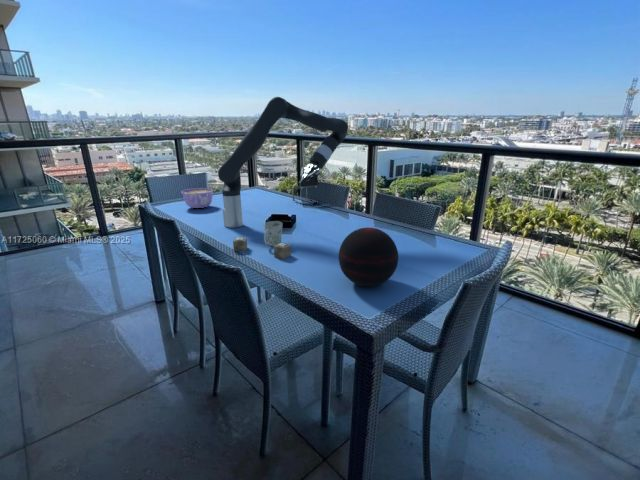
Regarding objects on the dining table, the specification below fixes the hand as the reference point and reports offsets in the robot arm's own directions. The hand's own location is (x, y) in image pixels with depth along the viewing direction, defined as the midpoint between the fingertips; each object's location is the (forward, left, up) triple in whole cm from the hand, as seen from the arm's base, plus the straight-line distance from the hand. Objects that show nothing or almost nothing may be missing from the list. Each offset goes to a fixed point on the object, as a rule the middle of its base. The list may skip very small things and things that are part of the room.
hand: (300, 185), depth 151 cm
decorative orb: (+38, -39, -26) cm, 61 cm away
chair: (-23, +74, -26) cm, 81 cm away
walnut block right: (0, -24, -26) cm, 36 cm away
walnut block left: (-21, -22, -26) cm, 40 cm away
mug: (-9, -14, -26) cm, 31 cm away
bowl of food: (-87, +40, -26) cm, 99 cm away
